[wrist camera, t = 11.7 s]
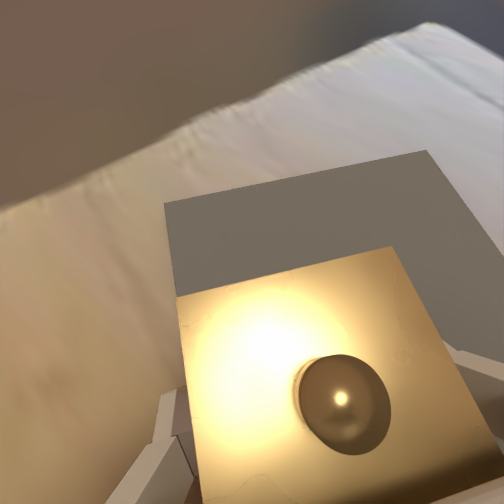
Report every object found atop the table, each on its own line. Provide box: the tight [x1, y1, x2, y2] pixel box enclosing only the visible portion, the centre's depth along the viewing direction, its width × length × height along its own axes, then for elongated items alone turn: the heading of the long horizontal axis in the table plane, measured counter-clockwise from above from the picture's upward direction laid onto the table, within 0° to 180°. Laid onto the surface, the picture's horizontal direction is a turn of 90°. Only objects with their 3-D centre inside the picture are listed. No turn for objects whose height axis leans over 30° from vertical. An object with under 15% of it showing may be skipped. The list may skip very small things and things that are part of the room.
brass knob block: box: [176, 246, 504, 504], centre depth 9 cm, size 6×6×9 cm
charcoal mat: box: [164, 150, 504, 455], centre depth 17 cm, size 21×22×1 cm
